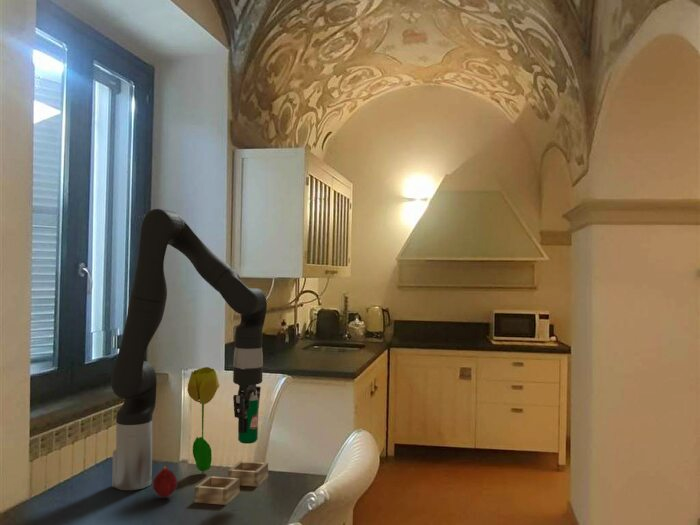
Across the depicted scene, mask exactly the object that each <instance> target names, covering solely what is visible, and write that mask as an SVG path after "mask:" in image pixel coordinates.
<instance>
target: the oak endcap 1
mask: <svg viewBox="0 0 700 525" xmlns="http://www.w3.org/2000/svg"><path fill="white" fill-rule="evenodd" d="M240 486H241V485H240V478H228V476H227V477H225V476H210V475H209V476H208V477H206V478H205V479H204V480H202V481H201V482H200V483H198V484H197V485H195V486H194V503H198V504H213V505H224V506H227V505H228V504H229V503H231V501H233V500H234V499H235V498H236V497H237V496H238V495H240V490H241V489H240V488H241V487H240Z"/></svg>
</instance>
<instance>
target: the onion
mask: <svg viewBox="0 0 700 525" xmlns="http://www.w3.org/2000/svg"><path fill="white" fill-rule="evenodd" d="M152 485H153V486H152V487H153V489H154V491H155V493H156V494H157V495H158V496H160V497H161V498H163V499H166V498H168V497H169V496H171V495H172V494H173V493H174V492H175V490H176V489H177V487H178V480H177V477H176V474H174V472H173V471H172V470H170V469H169V468H167V466H166V465H164V466H163V468H162V470H161V471H159V473H157V475H156V476H155V477H154V480H153V484H152Z"/></svg>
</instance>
